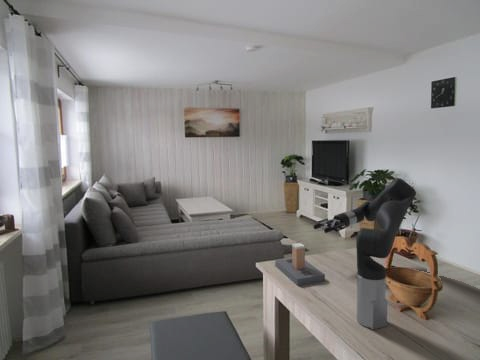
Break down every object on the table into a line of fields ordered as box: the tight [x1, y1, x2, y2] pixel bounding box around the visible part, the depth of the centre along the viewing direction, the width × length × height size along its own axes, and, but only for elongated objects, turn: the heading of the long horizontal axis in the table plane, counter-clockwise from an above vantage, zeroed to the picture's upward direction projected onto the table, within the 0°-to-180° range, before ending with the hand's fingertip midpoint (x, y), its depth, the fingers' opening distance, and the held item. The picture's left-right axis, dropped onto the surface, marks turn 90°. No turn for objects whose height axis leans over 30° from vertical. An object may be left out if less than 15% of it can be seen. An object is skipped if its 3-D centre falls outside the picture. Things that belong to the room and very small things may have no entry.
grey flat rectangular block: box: [274, 257, 326, 287], centre depth 156 cm, size 24×14×3 cm, turn 17°
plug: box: [291, 242, 306, 270], centre depth 155 cm, size 4×4×14 cm
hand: (319, 229), depth 157 cm, fingers open, 8 cm apart
